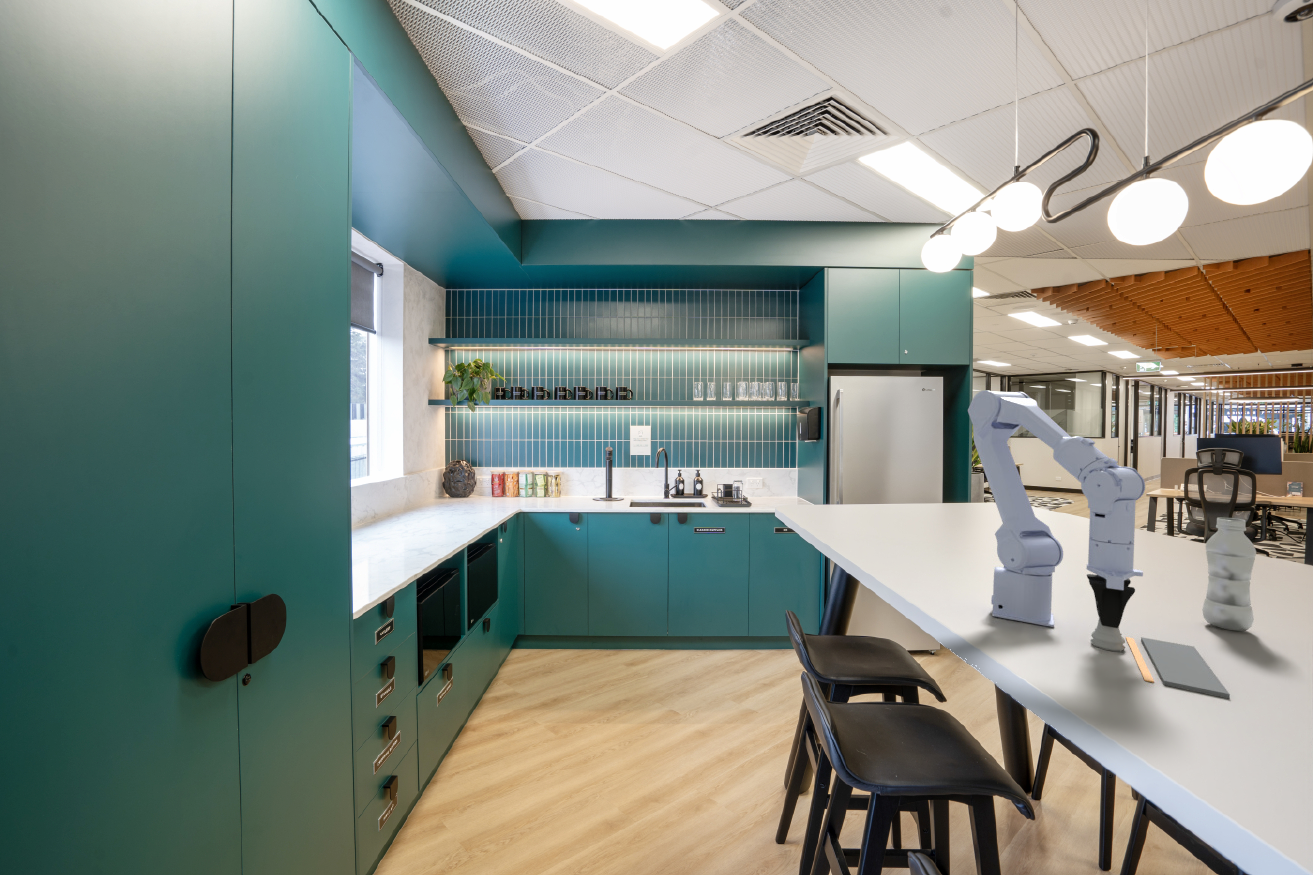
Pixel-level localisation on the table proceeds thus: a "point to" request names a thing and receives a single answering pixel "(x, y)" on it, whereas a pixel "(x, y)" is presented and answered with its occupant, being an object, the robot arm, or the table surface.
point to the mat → (1183, 667)
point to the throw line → (1139, 660)
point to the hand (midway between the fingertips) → (1108, 623)
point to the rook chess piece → (1107, 638)
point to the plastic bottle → (1229, 576)
